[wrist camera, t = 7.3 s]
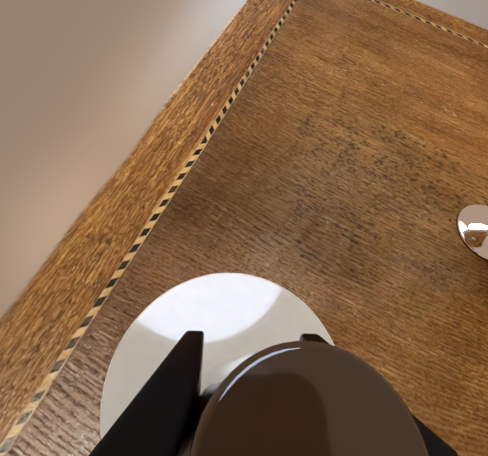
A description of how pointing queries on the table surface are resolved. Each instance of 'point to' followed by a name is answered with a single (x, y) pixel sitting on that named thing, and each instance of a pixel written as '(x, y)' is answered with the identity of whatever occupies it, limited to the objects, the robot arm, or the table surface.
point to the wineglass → (474, 228)
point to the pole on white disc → (262, 375)
